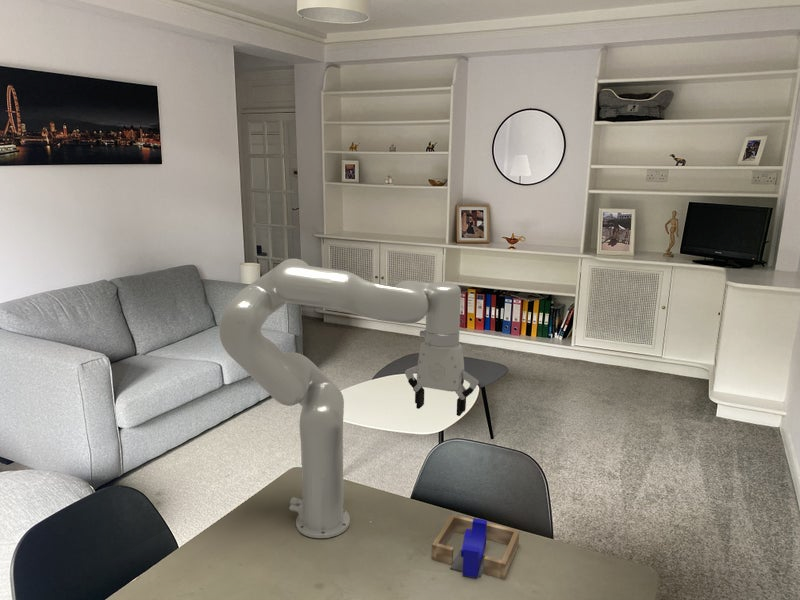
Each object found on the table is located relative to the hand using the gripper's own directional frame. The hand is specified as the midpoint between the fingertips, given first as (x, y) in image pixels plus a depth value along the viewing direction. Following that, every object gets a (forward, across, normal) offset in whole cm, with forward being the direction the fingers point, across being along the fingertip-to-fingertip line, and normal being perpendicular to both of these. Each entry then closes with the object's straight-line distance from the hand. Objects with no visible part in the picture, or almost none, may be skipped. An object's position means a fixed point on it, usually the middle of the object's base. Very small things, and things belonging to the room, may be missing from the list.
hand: (439, 410), depth 141 cm
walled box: (+28, +12, -8) cm, 32 cm away
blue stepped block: (+28, +12, -11) cm, 32 cm away
